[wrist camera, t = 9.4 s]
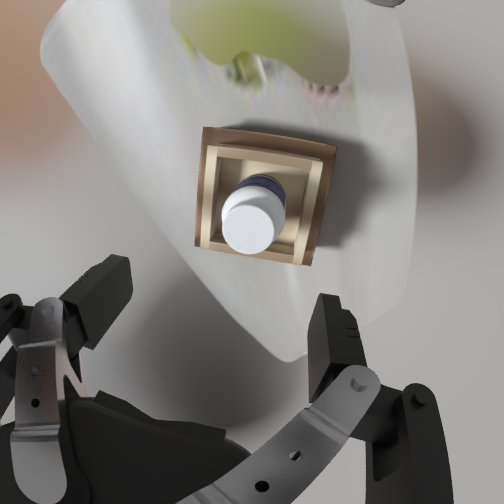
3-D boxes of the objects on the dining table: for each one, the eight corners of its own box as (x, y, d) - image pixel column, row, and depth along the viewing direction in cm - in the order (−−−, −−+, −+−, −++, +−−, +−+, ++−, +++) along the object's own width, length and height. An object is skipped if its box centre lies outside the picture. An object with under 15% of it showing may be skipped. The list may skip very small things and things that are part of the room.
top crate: (216, 143, 28) (207, 145, 24) (318, 158, 27) (323, 162, 24) (208, 235, 32) (200, 248, 29) (299, 251, 32) (301, 265, 29)
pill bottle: (233, 174, 28) (207, 197, 19) (284, 171, 27) (282, 193, 19) (238, 222, 30) (217, 263, 22) (287, 220, 30) (286, 262, 21)
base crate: (214, 126, 31) (203, 126, 27) (329, 143, 31) (337, 146, 26) (205, 231, 38) (194, 246, 33) (308, 248, 37) (310, 266, 33)
